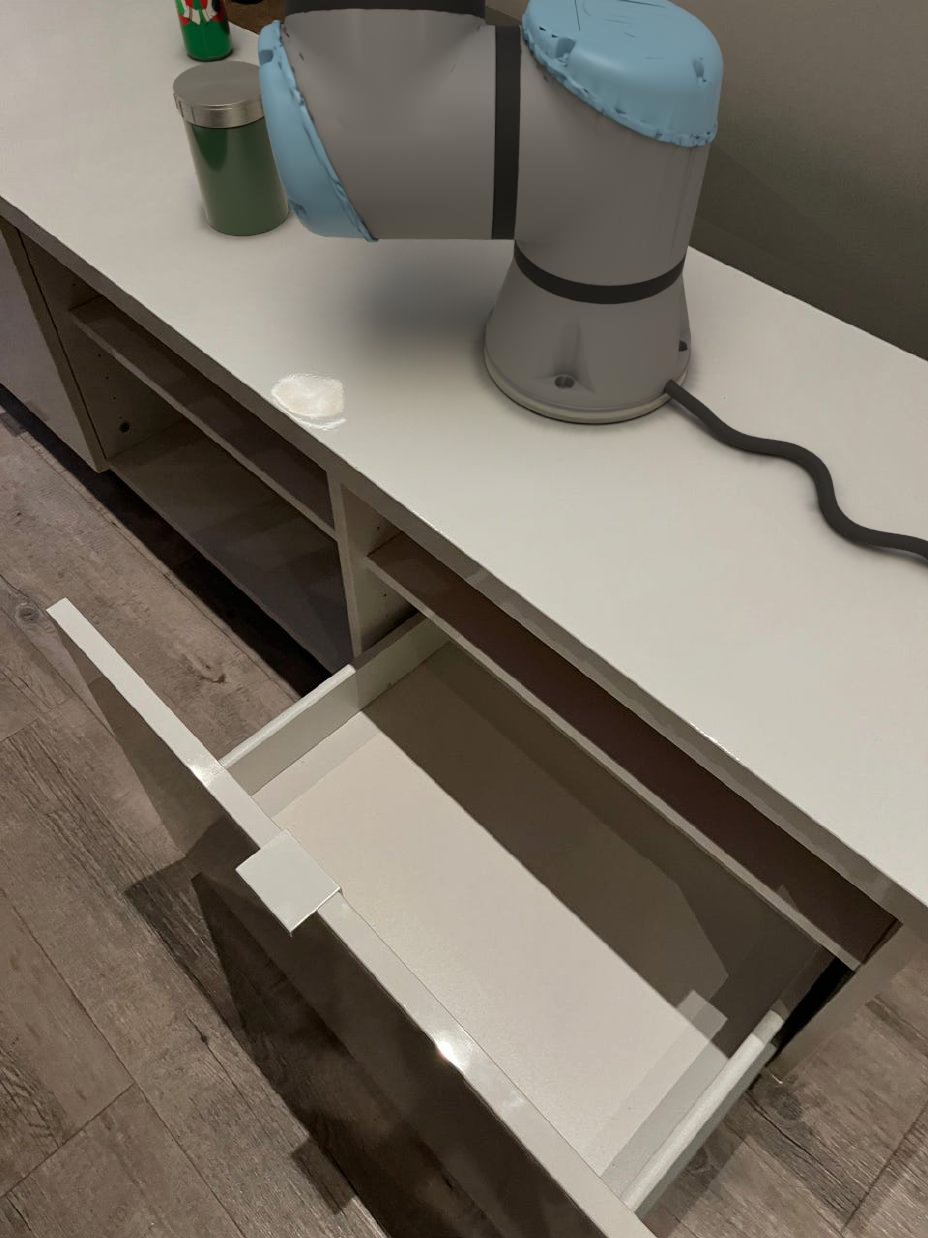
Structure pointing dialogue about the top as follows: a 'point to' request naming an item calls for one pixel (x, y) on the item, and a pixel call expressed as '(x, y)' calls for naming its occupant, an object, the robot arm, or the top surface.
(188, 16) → the soda can
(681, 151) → the robot arm
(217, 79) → the lid
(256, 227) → the jar
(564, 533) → the top surface
